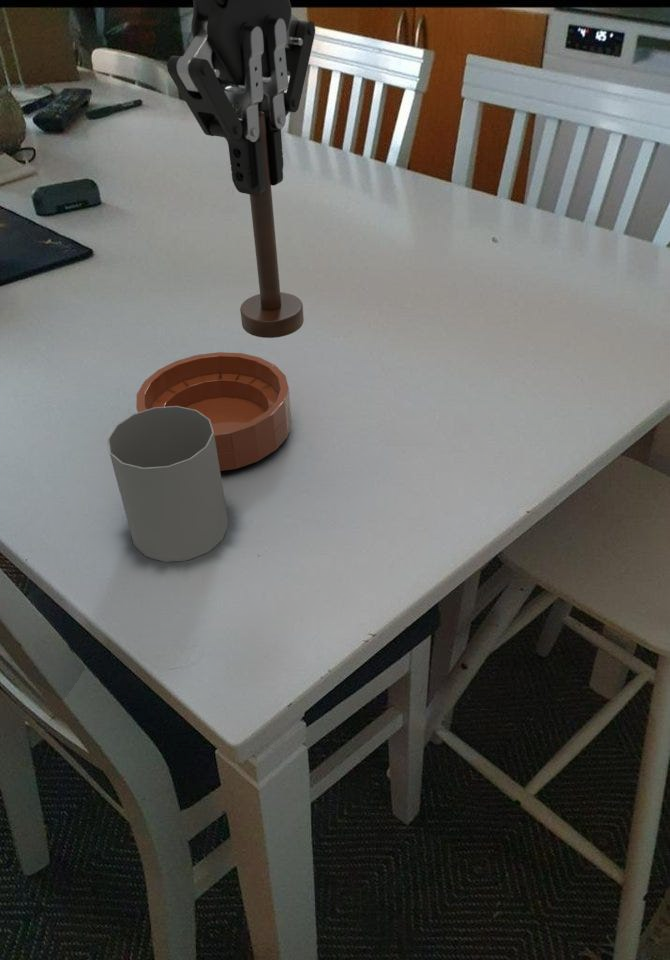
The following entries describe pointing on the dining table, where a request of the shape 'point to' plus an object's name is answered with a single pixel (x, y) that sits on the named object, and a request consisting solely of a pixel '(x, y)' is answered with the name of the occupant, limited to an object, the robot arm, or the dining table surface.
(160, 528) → the cup
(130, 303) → the dining table surface
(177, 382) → the bowl
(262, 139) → the upright rod on disc
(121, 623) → the dining table surface
